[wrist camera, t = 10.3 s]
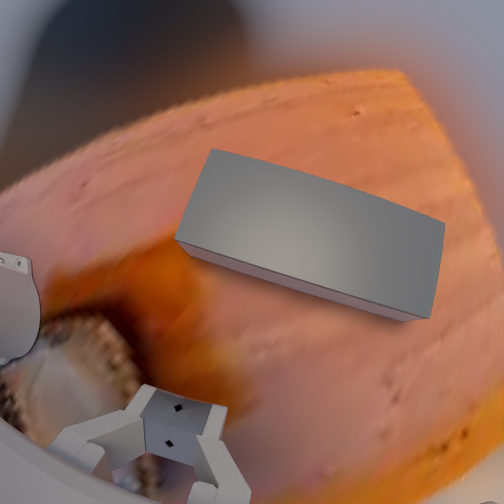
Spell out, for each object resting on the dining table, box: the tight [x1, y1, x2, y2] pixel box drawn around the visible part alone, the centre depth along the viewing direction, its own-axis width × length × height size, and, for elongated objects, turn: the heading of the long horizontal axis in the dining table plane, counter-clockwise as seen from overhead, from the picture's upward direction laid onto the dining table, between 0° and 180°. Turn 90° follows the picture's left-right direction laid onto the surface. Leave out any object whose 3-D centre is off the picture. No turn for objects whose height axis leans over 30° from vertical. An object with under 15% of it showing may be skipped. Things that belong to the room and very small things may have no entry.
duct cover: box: [174, 149, 445, 319], centre depth 30 cm, size 28×11×1 cm, turn 72°
